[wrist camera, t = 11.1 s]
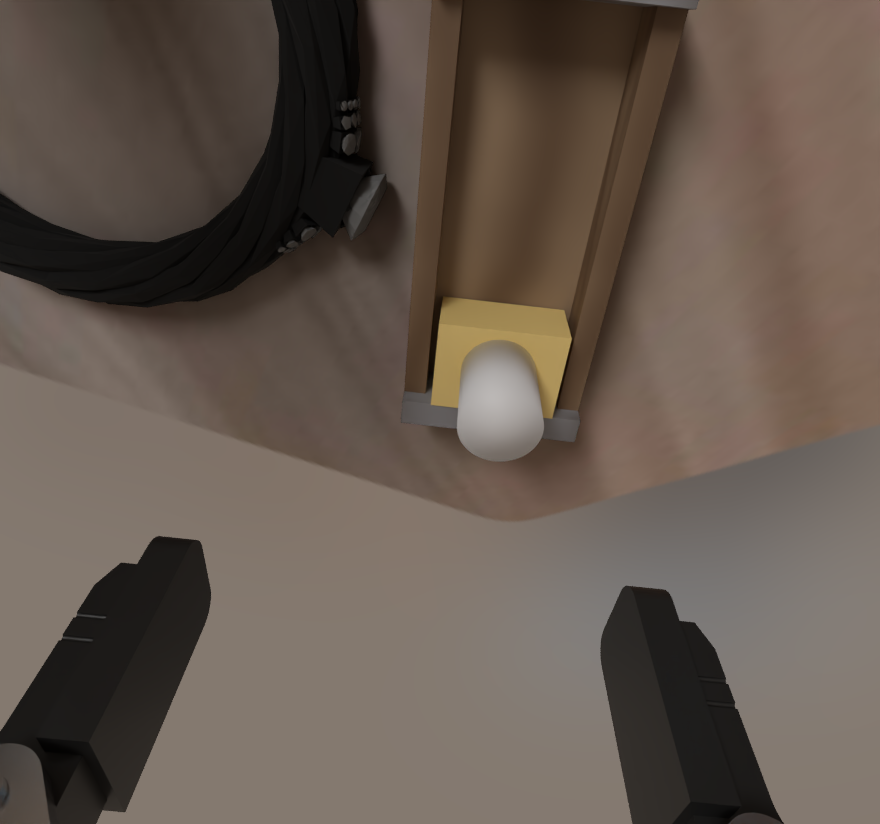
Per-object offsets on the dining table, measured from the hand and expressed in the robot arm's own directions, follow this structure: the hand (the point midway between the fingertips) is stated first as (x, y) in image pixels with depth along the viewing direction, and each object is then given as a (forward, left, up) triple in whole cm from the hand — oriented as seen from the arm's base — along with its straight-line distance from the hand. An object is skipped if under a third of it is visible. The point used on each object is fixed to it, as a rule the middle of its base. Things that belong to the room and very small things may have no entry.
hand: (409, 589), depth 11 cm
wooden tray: (+3, +1, -25) cm, 25 cm away
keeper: (+3, -6, -23) cm, 24 cm away
